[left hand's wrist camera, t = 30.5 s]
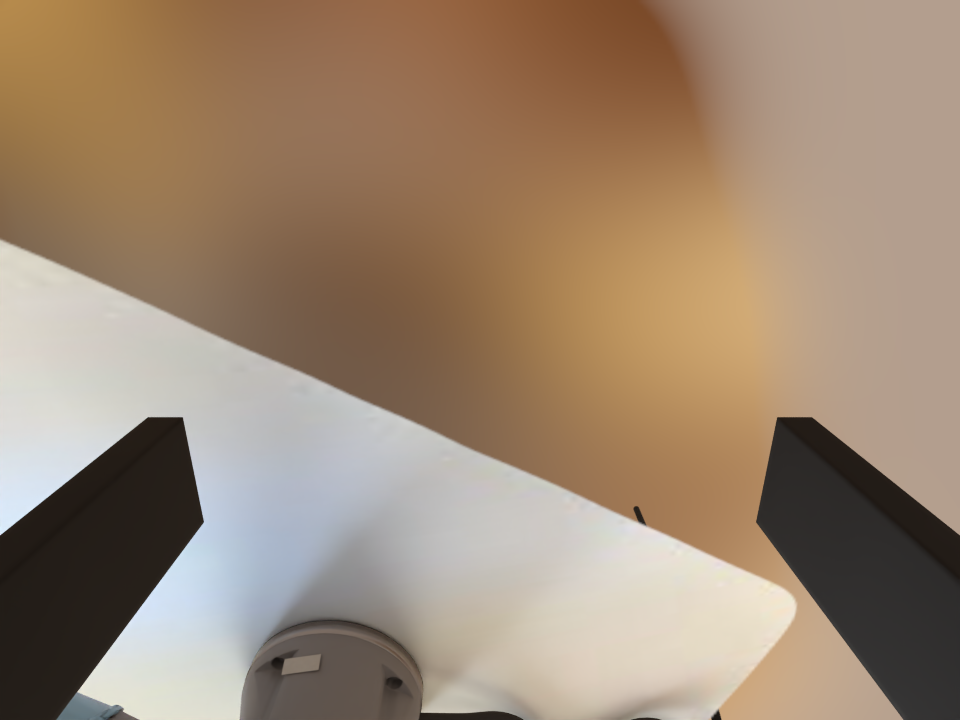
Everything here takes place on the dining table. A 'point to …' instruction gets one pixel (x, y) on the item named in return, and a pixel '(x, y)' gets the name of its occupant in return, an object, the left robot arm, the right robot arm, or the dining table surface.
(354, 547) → the dining table surface
